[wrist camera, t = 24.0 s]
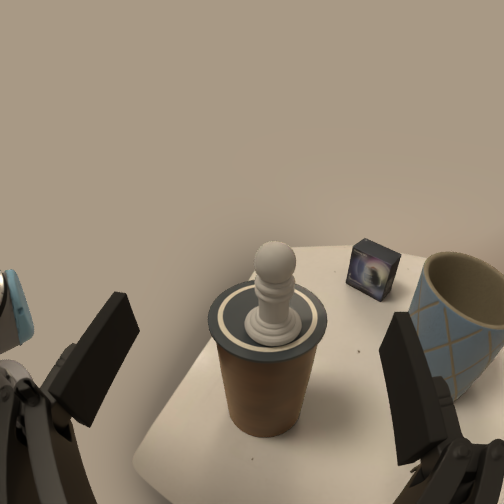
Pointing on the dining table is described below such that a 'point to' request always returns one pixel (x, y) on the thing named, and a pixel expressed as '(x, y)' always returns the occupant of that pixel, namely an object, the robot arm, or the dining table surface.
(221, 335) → the slate board
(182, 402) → the dining table surface
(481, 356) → the planter
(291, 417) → the walnut pedestal
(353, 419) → the dining table surface
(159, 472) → the dining table surface
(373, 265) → the small box
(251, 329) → the chess piece
